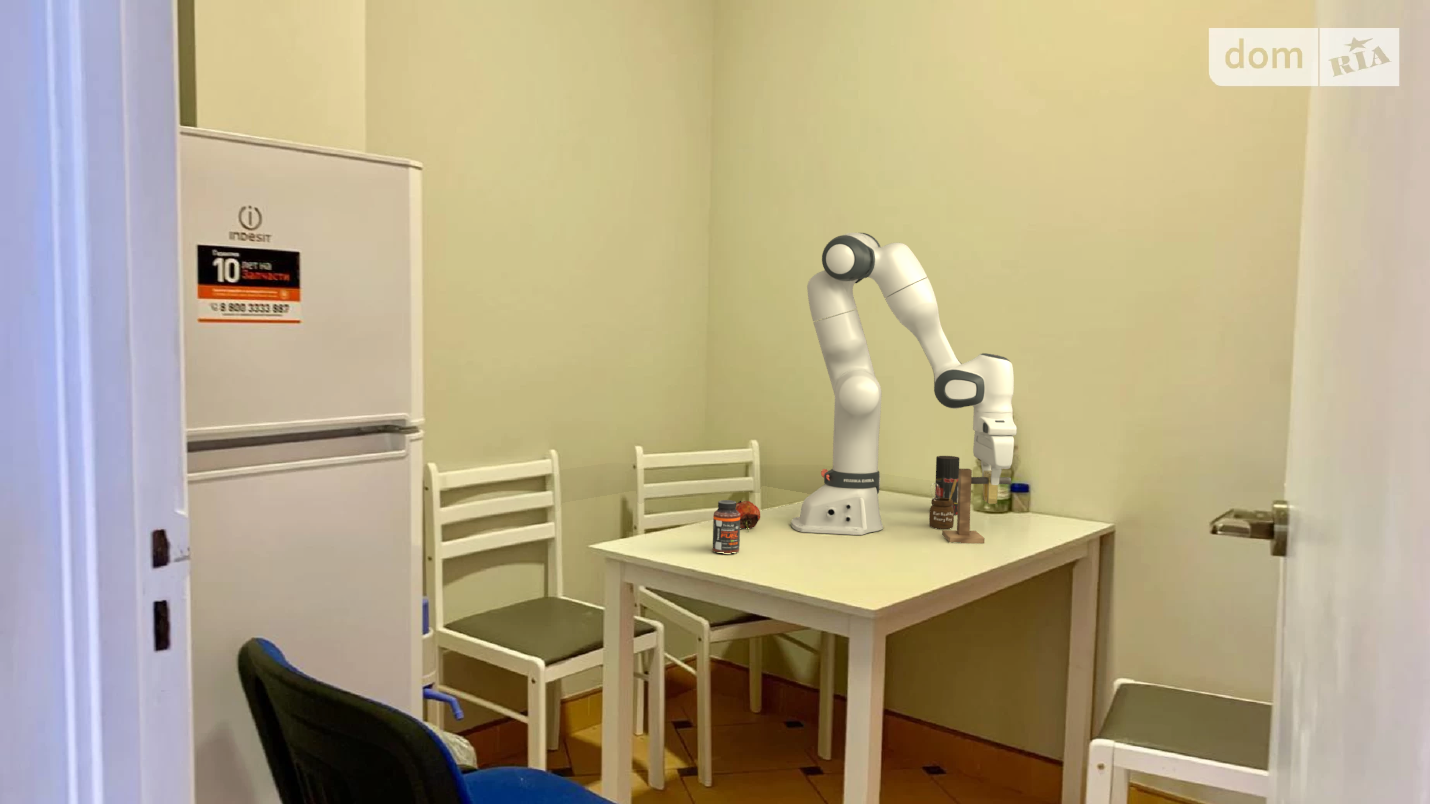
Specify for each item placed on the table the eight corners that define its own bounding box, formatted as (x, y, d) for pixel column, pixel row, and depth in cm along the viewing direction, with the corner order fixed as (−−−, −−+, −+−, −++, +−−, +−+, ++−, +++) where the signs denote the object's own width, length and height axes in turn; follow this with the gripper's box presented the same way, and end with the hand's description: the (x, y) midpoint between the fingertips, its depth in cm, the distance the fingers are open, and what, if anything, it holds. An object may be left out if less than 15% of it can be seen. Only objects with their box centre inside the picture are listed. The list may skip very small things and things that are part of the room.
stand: (949, 542, 237) (952, 471, 236) (942, 535, 245) (944, 466, 243) (1012, 543, 237) (1015, 472, 236) (1002, 535, 245) (1005, 467, 244)
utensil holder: (926, 524, 257) (928, 477, 256) (951, 524, 257) (953, 477, 256) (931, 529, 251) (933, 481, 250) (957, 530, 251) (959, 481, 250)
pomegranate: (763, 540, 247) (758, 509, 255) (762, 520, 242) (757, 489, 250) (732, 543, 247) (728, 512, 254) (731, 524, 242) (727, 492, 249)
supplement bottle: (720, 556, 222) (721, 505, 221) (707, 550, 227) (708, 500, 226) (744, 553, 224) (745, 502, 223) (731, 547, 230) (732, 498, 229)
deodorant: (959, 516, 268) (961, 459, 267) (937, 515, 268) (938, 458, 267) (954, 511, 274) (956, 455, 272) (932, 511, 274) (934, 455, 273)
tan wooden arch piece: (988, 503, 238) (989, 473, 237) (982, 499, 243) (983, 470, 242) (997, 503, 238) (998, 474, 237) (991, 499, 243) (992, 470, 242)
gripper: (967, 418, 249) (965, 474, 250) (991, 428, 229) (988, 489, 230) (993, 418, 249) (991, 475, 250) (1019, 428, 229) (1016, 490, 230)
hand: (990, 482), depth 240 cm, fingers closed on tan wooden arch piece, 5 cm apart
